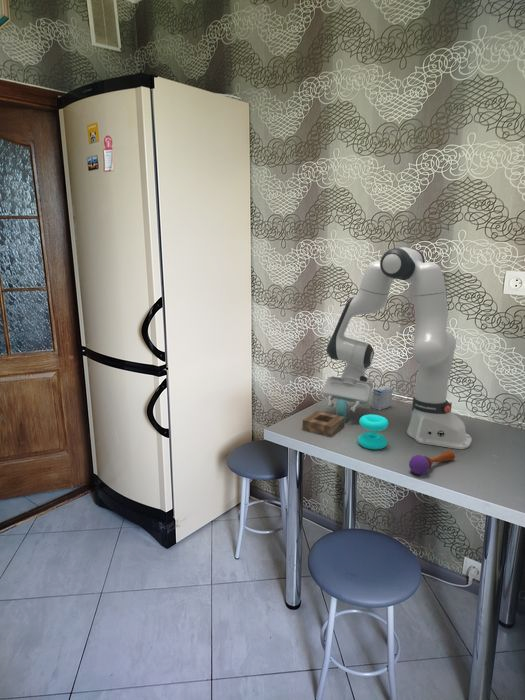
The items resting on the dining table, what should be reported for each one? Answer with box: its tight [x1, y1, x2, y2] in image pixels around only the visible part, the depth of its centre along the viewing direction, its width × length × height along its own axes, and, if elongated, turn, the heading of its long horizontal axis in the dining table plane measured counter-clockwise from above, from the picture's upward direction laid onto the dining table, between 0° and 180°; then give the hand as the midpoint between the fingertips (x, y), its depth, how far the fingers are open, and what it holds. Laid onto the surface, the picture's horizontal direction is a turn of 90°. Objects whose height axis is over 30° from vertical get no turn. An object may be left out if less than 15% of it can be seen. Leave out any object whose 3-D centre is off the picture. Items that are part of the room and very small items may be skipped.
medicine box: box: [371, 385, 393, 411], centre depth 201 cm, size 8×4×9 cm, turn 130°
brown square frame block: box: [301, 410, 345, 438], centre depth 178 cm, size 12×12×4 cm
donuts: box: [357, 413, 389, 450], centre depth 163 cm, size 10×10×10 cm
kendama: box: [408, 449, 456, 476], centre depth 147 cm, size 6×6×20 cm
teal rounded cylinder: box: [335, 399, 348, 424], centre depth 184 cm, size 4×4×9 cm
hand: (341, 409), depth 183 cm, fingers open, 8 cm apart
